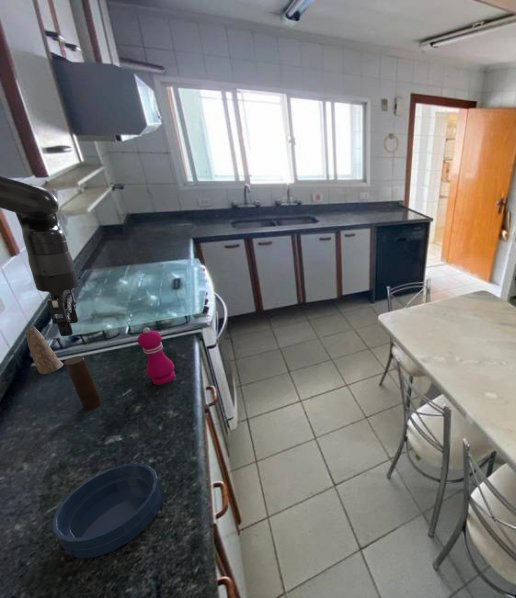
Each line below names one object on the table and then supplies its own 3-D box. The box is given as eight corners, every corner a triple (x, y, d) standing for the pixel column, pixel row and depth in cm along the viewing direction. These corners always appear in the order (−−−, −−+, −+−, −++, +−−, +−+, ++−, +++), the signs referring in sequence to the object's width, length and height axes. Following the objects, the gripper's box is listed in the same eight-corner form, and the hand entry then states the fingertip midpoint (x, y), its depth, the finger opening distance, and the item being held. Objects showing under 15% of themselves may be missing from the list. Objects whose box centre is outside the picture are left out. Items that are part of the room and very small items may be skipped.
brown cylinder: (81, 411, 94) (61, 365, 88) (86, 402, 98) (67, 357, 91) (99, 407, 96) (81, 362, 89) (103, 398, 99) (86, 354, 93)
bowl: (48, 575, 60) (35, 556, 57) (81, 496, 73) (72, 477, 70) (155, 538, 66) (148, 520, 64) (168, 472, 79) (162, 454, 77)
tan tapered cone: (72, 369, 111) (49, 373, 109) (51, 320, 105) (27, 323, 103) (60, 379, 105) (36, 383, 103) (37, 327, 99) (12, 331, 98)
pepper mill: (146, 383, 107) (125, 331, 98) (167, 370, 113) (149, 320, 104) (161, 389, 104) (141, 336, 96) (182, 376, 110) (165, 324, 102)
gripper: (39, 263, 84) (55, 321, 90) (23, 279, 74) (43, 343, 79) (78, 261, 89) (92, 316, 94) (69, 276, 78) (85, 337, 83)
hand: (70, 328), depth 87 cm, fingers open, 8 cm apart
